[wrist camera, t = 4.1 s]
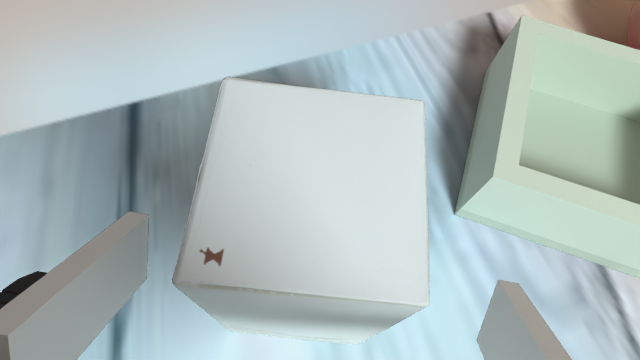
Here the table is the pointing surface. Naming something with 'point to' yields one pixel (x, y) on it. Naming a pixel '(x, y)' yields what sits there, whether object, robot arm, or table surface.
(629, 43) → the decorative fruit
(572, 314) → the table surface
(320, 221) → the supplement box
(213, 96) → the table surface
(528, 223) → the open square container
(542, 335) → the robot arm
